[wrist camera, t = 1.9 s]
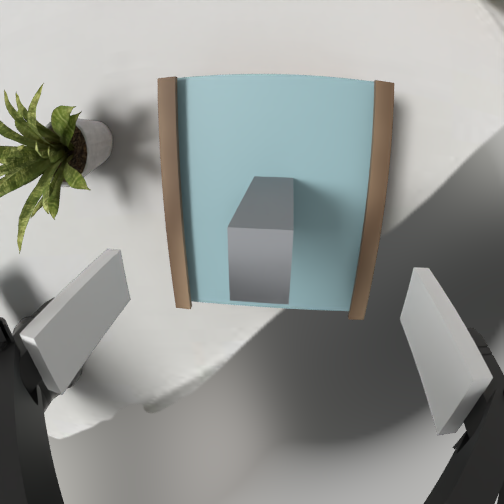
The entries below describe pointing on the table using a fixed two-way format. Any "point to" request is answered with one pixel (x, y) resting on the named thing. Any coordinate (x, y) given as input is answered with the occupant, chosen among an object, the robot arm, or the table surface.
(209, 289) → the cover plate
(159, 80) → the walnut box
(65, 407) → the table surface
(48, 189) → the house plant
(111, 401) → the table surface
